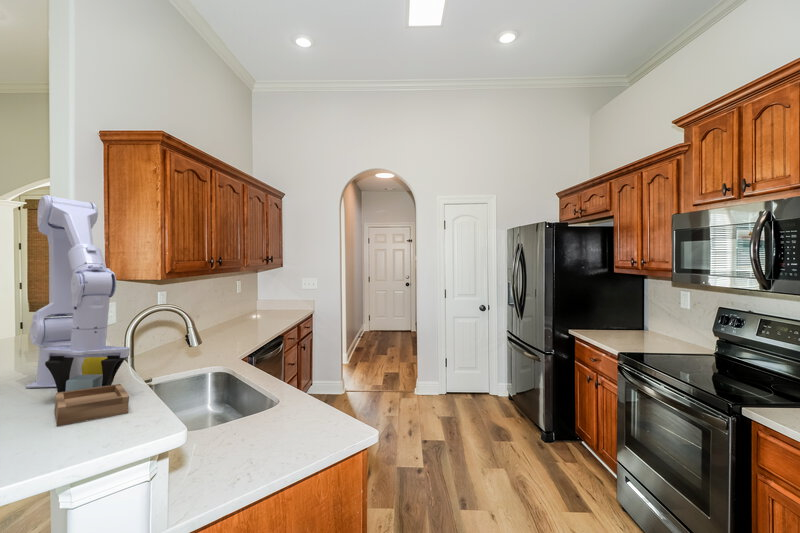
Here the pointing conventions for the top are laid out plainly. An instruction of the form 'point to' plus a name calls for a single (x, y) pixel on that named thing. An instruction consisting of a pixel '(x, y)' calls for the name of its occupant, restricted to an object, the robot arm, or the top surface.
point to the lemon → (92, 365)
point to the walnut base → (90, 404)
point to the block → (84, 382)
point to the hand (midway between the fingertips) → (84, 391)
